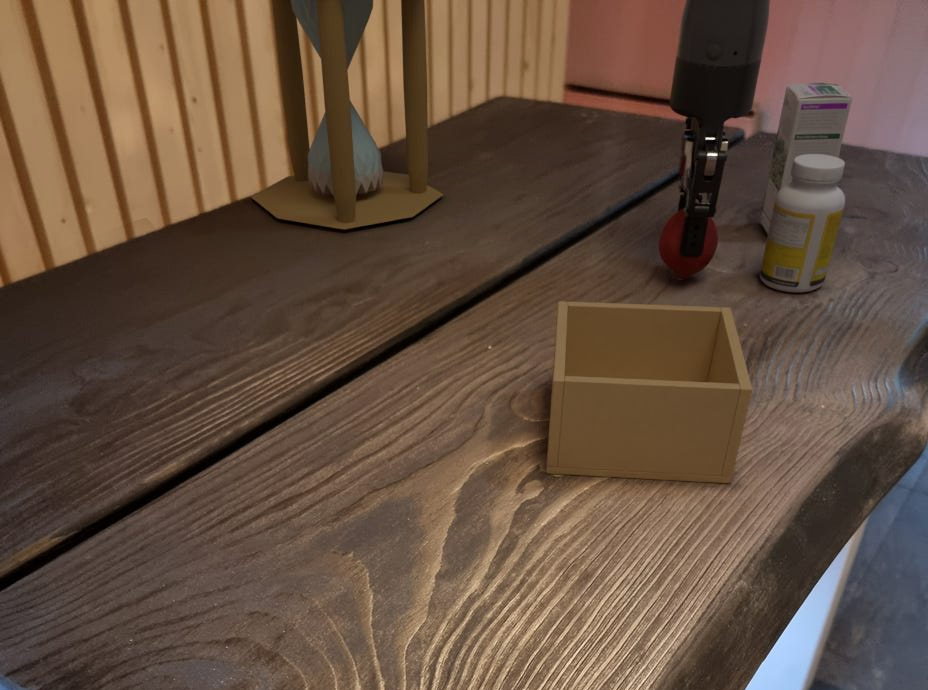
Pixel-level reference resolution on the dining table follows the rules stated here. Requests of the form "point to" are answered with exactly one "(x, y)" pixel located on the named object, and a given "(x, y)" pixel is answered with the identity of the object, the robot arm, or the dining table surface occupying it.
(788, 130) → the syrup box
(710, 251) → the onion
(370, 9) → the hourglass
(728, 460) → the open wooden box
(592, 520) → the dining table surface
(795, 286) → the pill bottle
